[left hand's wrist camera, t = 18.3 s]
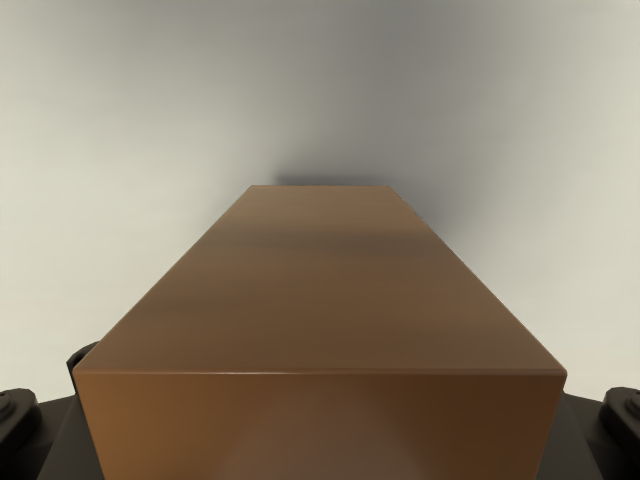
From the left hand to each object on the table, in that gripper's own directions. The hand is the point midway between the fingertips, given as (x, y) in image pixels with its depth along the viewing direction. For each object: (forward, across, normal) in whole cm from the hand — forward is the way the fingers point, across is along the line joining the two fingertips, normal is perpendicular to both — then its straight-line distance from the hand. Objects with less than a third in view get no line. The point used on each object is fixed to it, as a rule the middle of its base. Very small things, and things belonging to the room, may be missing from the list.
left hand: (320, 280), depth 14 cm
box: (+2, 0, -10) cm, 10 cm away
